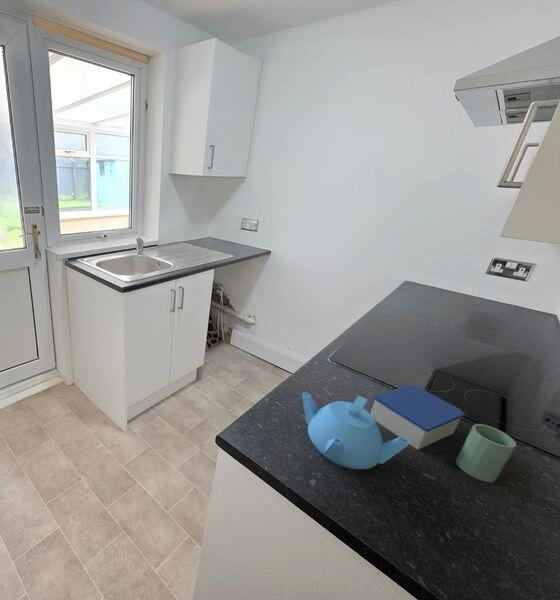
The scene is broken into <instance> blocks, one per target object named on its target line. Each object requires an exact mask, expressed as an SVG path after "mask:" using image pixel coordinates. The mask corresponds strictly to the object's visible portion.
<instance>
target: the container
mask: <svg viewBox="0 0 560 600" xmlns="http://www.w3.org/2000/svg"><path fill="white" fill-rule="evenodd" d="M373 400H374V401H373V405H372V407H371V410H370V412H369V413H370V414H371V415H372V417H373V418H374V420H375V422H376V423H378V424H379V425H381V426H383V427H384V428H385V429H387V430H388V431H389V432H392V434H393V435H395V436H397V438H398V437H400V436H401V437H403V438H405V439H407V440H409V445H410V446H412V447H413V448H414V449H415V450H420V449H422V448H424V447H427V446H429V445H431V444H434V443H436V442H438V441H440V440H442V439H444V438H447V437H449V436H451V435H454V433H455V431H456V429H457V427H458V425H459V422H460V421H461V419H462V418H463V417H465V416H466V413H465V412H463V411H462V408H459V407H457V406H455V405H453V404H451V403H450V402H448V401H445V400H444V399H442V398H440V397H439V396H436V395H434V394H432V393H430V392H429V391H427V390H425V389H423V388H421V387H416V386H414V385H413V384H408V385H405V386H402V387H399V388H396V389H393V390H389V391H387V392H383V393H379V394H377V395H374V396H373Z"/></svg>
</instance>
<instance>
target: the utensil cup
mask: <svg viewBox="0 0 560 600" xmlns="http://www.w3.org/2000/svg"><path fill="white" fill-rule="evenodd" d="M463 442H464V443H463V444H462V447H461V448H460V450H459V451H458V454H457V456H456V459H455V463H456V465H457V466H458V468H460V470H462V472H464V473H466V474H467V475H469V476H470V477H471V478H474V479H476V480H478V481H481V482H485V483H495V482H496V481H497V479H498V478H499V476H500V474H501V472H502V471H503V470H504V468H505V466H506V464H507V462H508V461H509V459H510V457H512V454H513V453H514V452H515V451H514V450H515V449H516V447H517V442H516V441H515V440H514V438H512V437H511V436H510V435H508V434H507V433H506V432H504V431H502V430H500V429H498V428H495V427H494V426H493V427H492V426H490V425H487V424H482V423H475V424H473V425H472V426H471V429H470V431H469V433H468V434H467V436H466V439H465V441H463Z"/></svg>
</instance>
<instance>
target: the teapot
mask: <svg viewBox="0 0 560 600" xmlns="http://www.w3.org/2000/svg"><path fill="white" fill-rule="evenodd" d="M301 397H302V405H303V411H304V412H303V413H304V418H305V423H306V424H307V433H308V437H309V439H310V441H311V442H312V445H313V446H314V447H315V448H316V450H317V451H318V452H319V453H320V454H321V455H322V456H323V457H324V458H325V459H327V460H328V461H330V462H331V463H334V464H335V465H338V466H339V467H342V468H346V469H350V470H368V469H371V468H374V467H376V466H377V465H378V464H381V465H383V464H385V463H386V462H387V461H389V460H390V459H392V458H393V457H394V456H396V455H397V454H399V453H400V452H402V451H403V450H404V449H406V448H407V447H408V446H409V445H410V444H409V440H407V439H405V438H403V437H401V436H400V437H398V436H397V437H396V438H394V439H390V440H388V441H386V442H384V441H383V438H382V434H381V431H380V429H379V426H378V424H377V421H375V420H374V418H373V417H372V415H371V414H370V413H371V412H369V411H368V410H367V406H368V403H369V402H368V401H369V399H367V398H365V397H364V396H361V395H358V396H357V397H356V398H355V400H354V401H353V402H350V401H345V400H337V401H336V400H335V401H333V402H330V403H328V404H326V405H324V406H323V407H321V408H319V409H318V407H317V405H316V403H315V401H314V399H313V397H312V394H310V393H308V392H306V391H303V393H302V394H301Z"/></svg>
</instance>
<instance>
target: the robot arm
mask: <svg viewBox="0 0 560 600" xmlns="http://www.w3.org/2000/svg"><path fill="white" fill-rule="evenodd" d="M540 422H541V423H542V425H544V426H546V427H547V428H549V429H551V430H553V431H555V432H556V433H555V434H554V436H553V439H554V440H556V441H557V442H560V414H559V413H557V412H554V411H551V410H545V412H544V413H543V415H542V417H541V419H540Z"/></svg>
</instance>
